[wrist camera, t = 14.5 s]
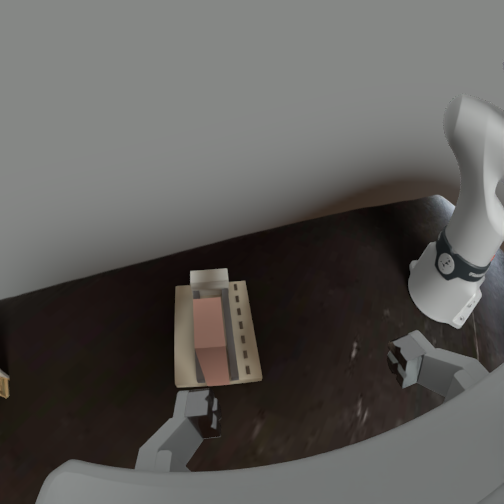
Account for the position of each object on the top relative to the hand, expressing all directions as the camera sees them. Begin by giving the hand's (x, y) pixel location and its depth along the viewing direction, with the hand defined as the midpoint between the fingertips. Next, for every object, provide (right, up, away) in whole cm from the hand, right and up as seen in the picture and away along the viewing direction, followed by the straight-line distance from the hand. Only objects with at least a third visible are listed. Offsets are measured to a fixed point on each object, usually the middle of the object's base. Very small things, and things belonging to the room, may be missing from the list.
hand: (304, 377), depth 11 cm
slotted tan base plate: (-8, -7, +30) cm, 32 cm away
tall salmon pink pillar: (-7, -10, +25) cm, 28 cm away
